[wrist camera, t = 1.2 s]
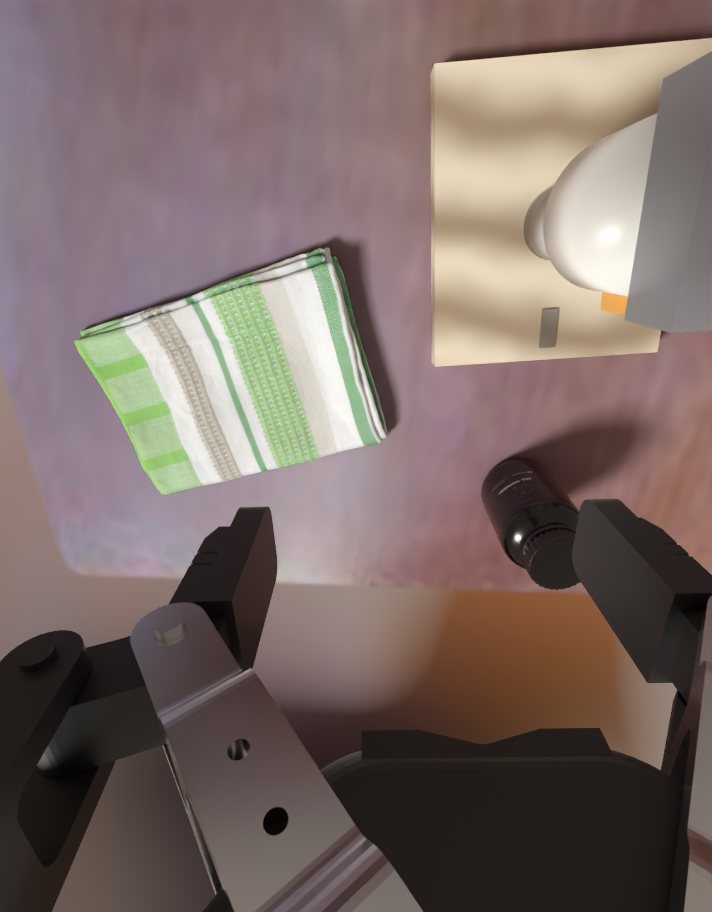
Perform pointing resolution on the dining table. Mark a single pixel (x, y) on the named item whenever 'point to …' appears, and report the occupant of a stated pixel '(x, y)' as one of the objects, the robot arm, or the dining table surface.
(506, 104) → the post board
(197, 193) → the dining table surface
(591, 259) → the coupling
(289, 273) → the dish towel
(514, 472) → the supplement bottle
